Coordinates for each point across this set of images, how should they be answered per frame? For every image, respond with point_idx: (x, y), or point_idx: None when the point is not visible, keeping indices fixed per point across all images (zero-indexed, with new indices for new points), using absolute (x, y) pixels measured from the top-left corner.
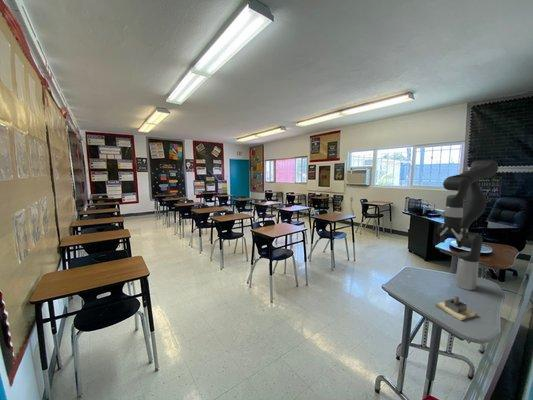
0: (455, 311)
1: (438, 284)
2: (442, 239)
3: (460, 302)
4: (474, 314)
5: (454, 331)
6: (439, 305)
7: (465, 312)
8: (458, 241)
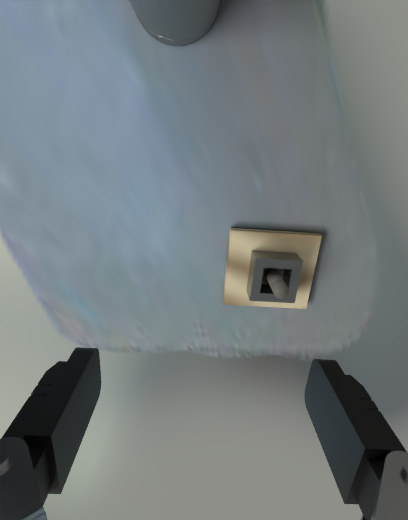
0: None
1: (112, 119)
2: (84, 428)
3: (283, 265)
4: (318, 247)
5: None
6: (235, 302)
7: None
8: (346, 488)
